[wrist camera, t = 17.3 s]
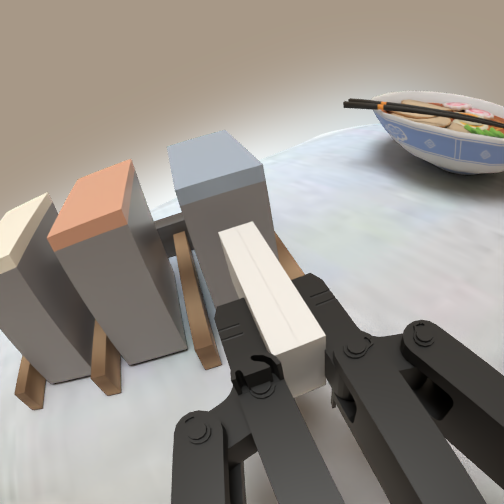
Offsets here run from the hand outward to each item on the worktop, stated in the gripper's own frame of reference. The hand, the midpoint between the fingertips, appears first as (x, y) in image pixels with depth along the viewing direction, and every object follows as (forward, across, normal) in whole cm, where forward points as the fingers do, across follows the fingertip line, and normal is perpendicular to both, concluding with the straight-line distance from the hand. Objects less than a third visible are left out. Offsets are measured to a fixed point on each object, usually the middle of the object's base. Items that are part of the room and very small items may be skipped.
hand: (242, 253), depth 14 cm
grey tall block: (+6, -13, -7) cm, 16 cm away
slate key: (+6, 0, -7) cm, 9 cm away
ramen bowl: (+14, +31, -7) cm, 34 cm away
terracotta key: (+6, -6, -7) cm, 11 cm away
